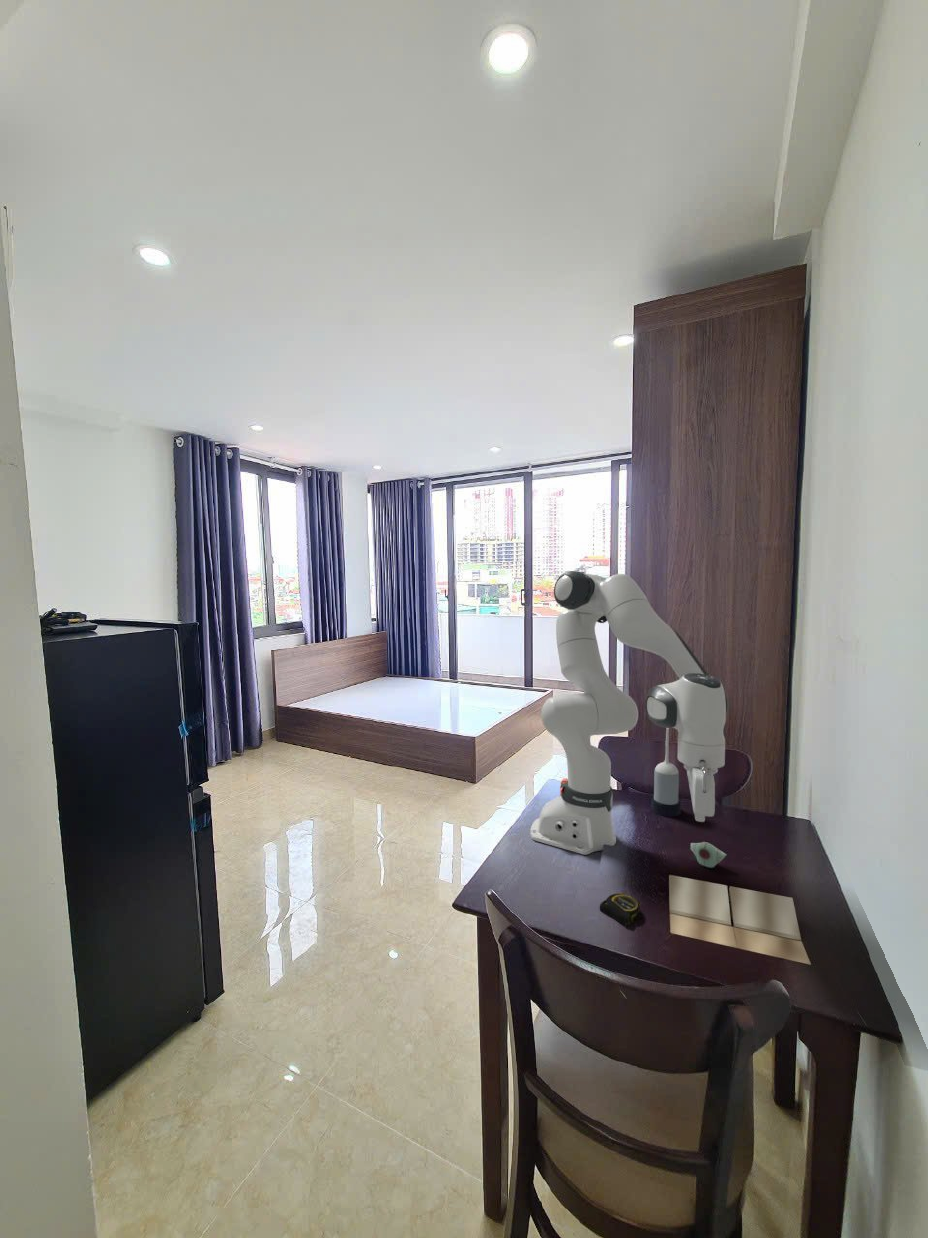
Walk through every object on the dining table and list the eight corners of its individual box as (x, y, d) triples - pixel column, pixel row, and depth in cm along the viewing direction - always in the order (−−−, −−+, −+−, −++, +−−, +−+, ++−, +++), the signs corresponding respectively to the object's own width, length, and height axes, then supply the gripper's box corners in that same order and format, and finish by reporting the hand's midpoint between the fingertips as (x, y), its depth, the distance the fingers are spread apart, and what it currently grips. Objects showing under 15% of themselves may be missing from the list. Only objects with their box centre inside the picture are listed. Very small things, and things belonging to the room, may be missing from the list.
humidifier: (679, 806, 151) (681, 726, 150) (681, 818, 144) (683, 733, 142) (651, 803, 154) (652, 723, 153) (651, 814, 147) (652, 731, 145)
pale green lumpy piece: (726, 872, 116) (727, 844, 116) (722, 880, 113) (723, 852, 113) (690, 860, 122) (691, 834, 121) (685, 867, 118) (686, 840, 118)
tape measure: (597, 917, 101) (597, 899, 101) (619, 905, 105) (619, 888, 105) (625, 936, 95) (625, 918, 95) (647, 923, 99) (648, 905, 99)
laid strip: (670, 940, 94) (670, 932, 94) (669, 920, 100) (669, 913, 100) (810, 973, 86) (811, 964, 86) (801, 949, 92) (801, 941, 92)
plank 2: (733, 930, 97) (734, 926, 96) (729, 890, 103) (729, 886, 102) (799, 944, 93) (801, 940, 92) (791, 902, 99) (792, 897, 98)
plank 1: (669, 916, 101) (669, 912, 100) (669, 878, 107) (669, 874, 106) (730, 929, 97) (731, 925, 96) (726, 889, 103) (727, 885, 102)
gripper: (724, 772, 92) (722, 845, 93) (712, 741, 111) (711, 801, 112) (686, 768, 94) (685, 839, 95) (681, 738, 113) (680, 797, 114)
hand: (699, 818), depth 103 cm, fingers closed
